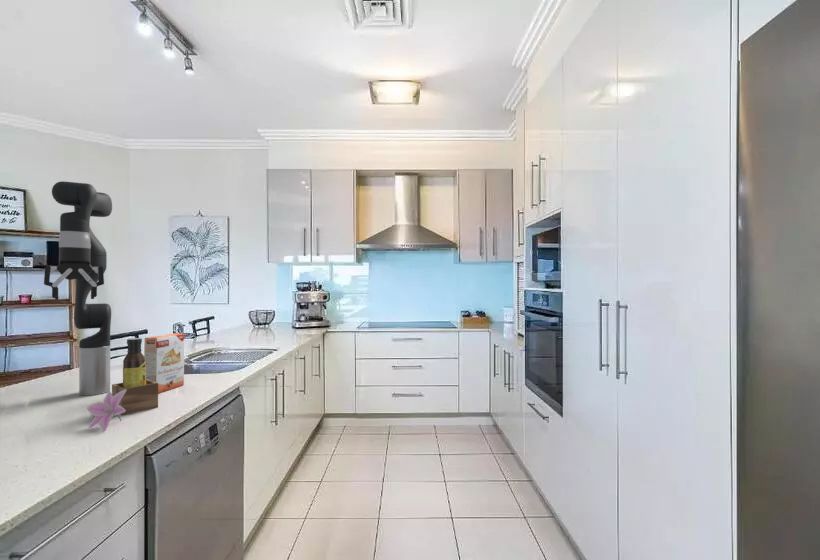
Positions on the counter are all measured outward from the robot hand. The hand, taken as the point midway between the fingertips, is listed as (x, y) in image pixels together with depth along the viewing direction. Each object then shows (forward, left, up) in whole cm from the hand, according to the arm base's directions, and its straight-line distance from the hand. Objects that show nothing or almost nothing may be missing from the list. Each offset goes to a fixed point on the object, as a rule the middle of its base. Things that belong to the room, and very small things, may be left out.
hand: (74, 299), depth 125 cm
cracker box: (-12, +30, -36) cm, 49 cm away
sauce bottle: (+6, +14, -33) cm, 37 cm away
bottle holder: (+5, +15, -36) cm, 39 cm away
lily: (+18, +4, -36) cm, 41 cm away
